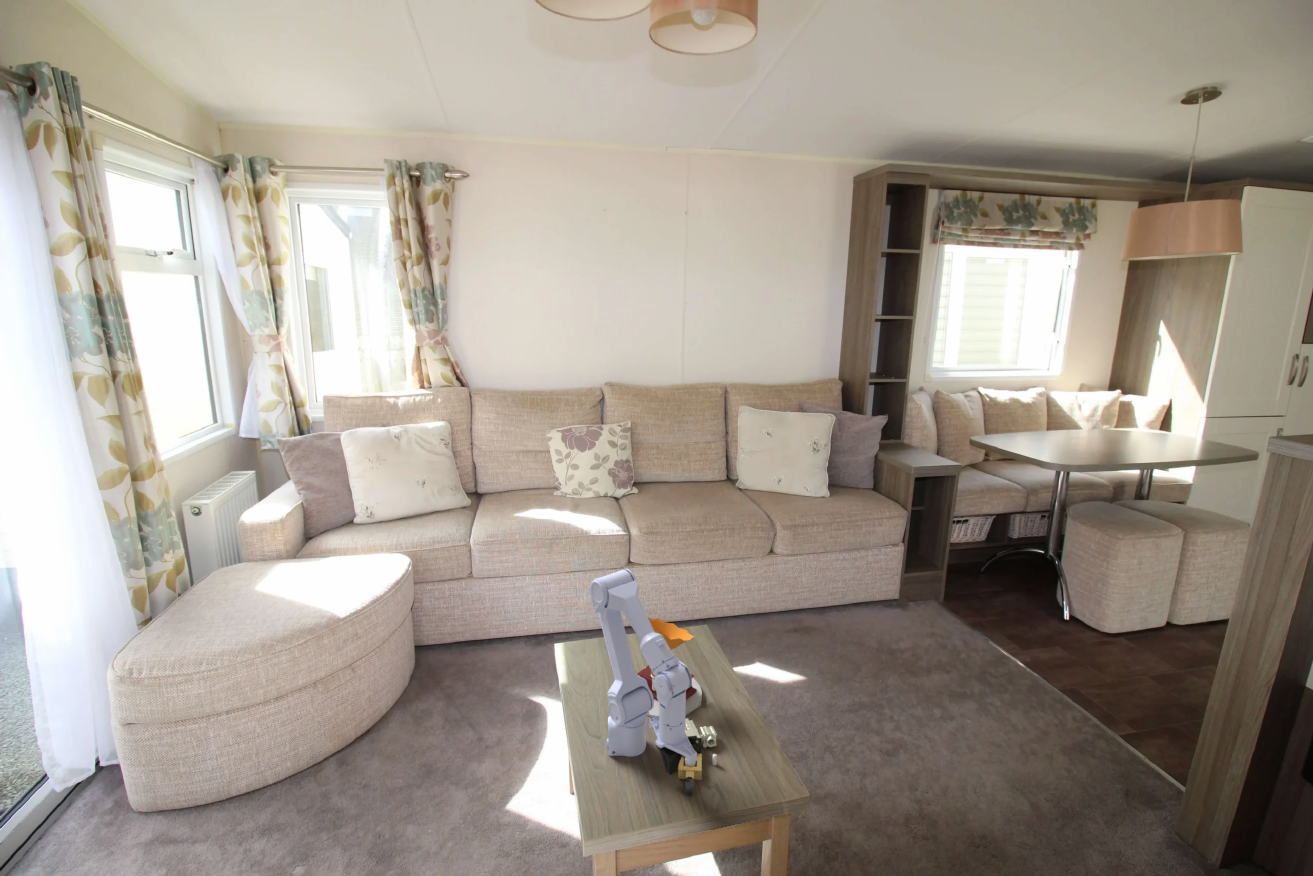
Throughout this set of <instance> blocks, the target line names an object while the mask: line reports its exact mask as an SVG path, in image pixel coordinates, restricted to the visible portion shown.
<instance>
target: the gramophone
mask: <svg viewBox="0 0 1313 876" xmlns="http://www.w3.org/2000/svg"><path fill="white" fill-rule="evenodd" d="M647 617H648V616H647ZM648 619H649V621H650V623H651V625H652V628H653V630H654V632H655V633H658V634H661V635H662V636H663V638H664V639H665V641H666V643H667V645H668V646H669V648H670V650H671V651H672V650H674V649H676V648H678V647H680V646H681V645H683V644H684V643H686V642H687V641H691V640H692V638H694V637H695V636H694V635H692V634H690V633H689V632H688V630H687V629H684V628H681V627H678V626H677V625H676V624H675V623H673V622H672V623H671V622H670V623H669V622H665V621H663V620H662V619H660V618H655V619H654V618H650V617H648ZM690 674H691V677H692V684H691V686H690V687H689V688H688V689H686V712H685V716H687V715H689V714H690V713H692V712H693V711H694V710H696V709H697V708H700V707H701V706H702V700H703V699H702V698H703V691H702V689H701V686H700V685H701V684H699V683H698V682H697V680H696V679H695V678H694V677H695V674H692V673H690ZM636 675H637V676H640V677H642V678H644V679H645V680H646V681H647V684H648V687H649V689H650V690H651V692H652V694H653V698H654V706H653V708H652V710H650V711H649V716H648V717H650V718H653V717H655V716H656V717H657V718H659V702H658V699H657V692H656V689H655V687H654V683H653V679H654V680H655V676H654V674H653V672H652V670H651V668H650V667H649V665H647V666H645V667H644V668H643V669H641V670H640V671H639V672H637V673H636Z"/></svg>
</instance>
